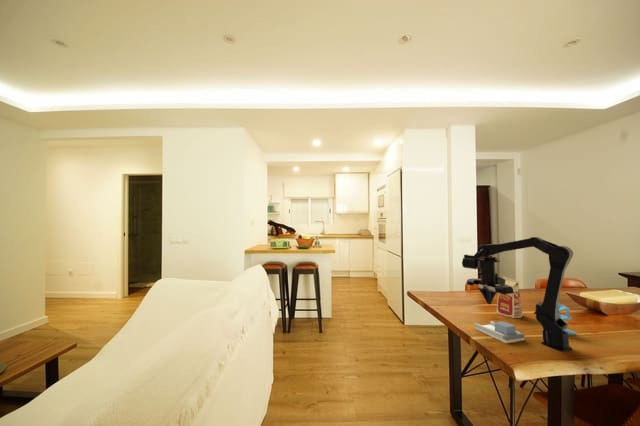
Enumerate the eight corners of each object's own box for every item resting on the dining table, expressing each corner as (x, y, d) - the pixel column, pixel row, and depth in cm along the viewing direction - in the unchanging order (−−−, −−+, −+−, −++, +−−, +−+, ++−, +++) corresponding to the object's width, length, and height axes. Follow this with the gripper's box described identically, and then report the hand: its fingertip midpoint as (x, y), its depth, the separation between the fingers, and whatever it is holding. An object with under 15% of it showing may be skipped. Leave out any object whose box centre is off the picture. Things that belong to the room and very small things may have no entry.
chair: (541, 328, 107) (539, 302, 108) (555, 327, 108) (553, 301, 109) (561, 336, 99) (558, 307, 100) (576, 334, 101) (574, 306, 101)
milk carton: (496, 313, 126) (494, 276, 128) (506, 310, 130) (504, 274, 132) (516, 319, 118) (513, 279, 120) (525, 316, 122) (523, 277, 124)
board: (524, 340, 96) (524, 333, 96) (506, 343, 93) (505, 336, 94) (491, 326, 109) (491, 321, 110) (474, 328, 107) (474, 323, 107)
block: (516, 337, 97) (515, 325, 97) (506, 338, 95) (506, 327, 96) (503, 331, 101) (503, 321, 102) (494, 333, 100) (494, 322, 100)
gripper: (521, 273, 104) (523, 309, 103) (482, 266, 122) (483, 297, 121) (503, 274, 101) (505, 311, 100) (465, 267, 119) (466, 298, 118)
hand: (489, 304), depth 110 cm, fingers closed
